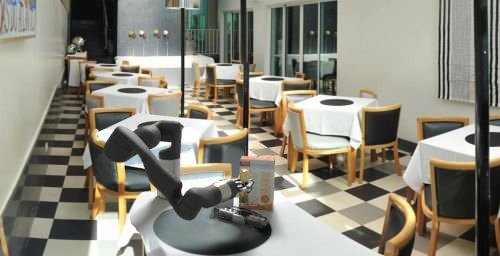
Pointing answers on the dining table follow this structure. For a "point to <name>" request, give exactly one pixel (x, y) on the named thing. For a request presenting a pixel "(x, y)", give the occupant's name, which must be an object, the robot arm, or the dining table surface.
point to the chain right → (256, 220)
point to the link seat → (241, 217)
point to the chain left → (229, 212)
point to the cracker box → (259, 181)
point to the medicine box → (226, 204)
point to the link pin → (245, 177)
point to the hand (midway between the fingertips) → (248, 180)
